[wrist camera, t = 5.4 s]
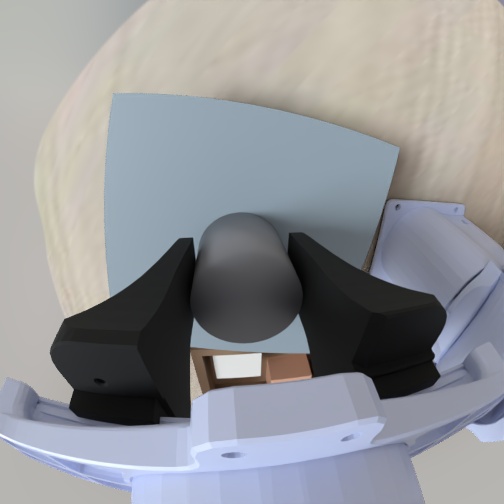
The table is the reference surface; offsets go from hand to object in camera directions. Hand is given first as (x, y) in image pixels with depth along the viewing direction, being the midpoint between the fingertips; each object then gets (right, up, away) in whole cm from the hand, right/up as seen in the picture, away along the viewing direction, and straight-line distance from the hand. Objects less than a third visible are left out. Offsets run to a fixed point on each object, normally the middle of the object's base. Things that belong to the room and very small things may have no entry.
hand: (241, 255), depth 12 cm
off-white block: (-1, -8, +13) cm, 15 cm away
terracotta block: (+4, -12, +16) cm, 20 cm away
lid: (0, +1, +2) cm, 2 cm away
